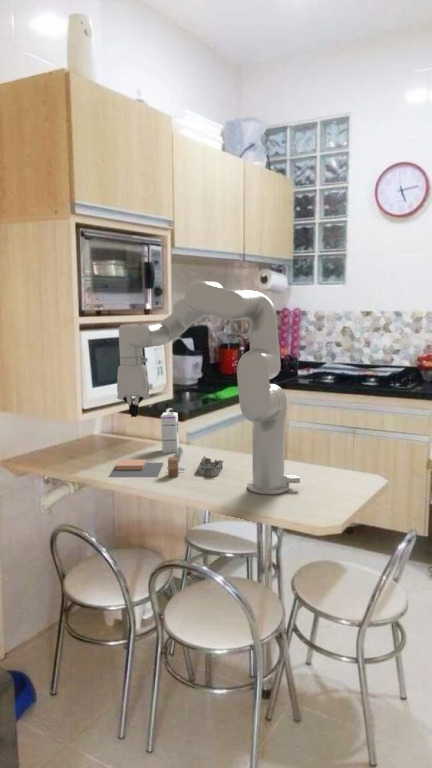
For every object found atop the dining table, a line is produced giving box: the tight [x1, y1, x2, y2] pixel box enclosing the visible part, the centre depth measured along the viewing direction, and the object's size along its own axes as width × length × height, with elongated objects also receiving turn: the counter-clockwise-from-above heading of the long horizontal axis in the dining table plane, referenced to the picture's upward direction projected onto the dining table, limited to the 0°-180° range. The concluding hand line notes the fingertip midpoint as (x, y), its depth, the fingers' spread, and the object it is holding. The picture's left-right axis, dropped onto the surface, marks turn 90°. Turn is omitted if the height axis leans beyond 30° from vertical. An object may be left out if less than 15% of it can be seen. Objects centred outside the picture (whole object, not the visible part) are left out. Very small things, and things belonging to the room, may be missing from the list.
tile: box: [115, 459, 147, 470], centre depth 201 cm, size 2×7×9 cm
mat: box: [107, 462, 164, 478], centre depth 198 cm, size 16×16×1 cm
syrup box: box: [160, 411, 180, 453], centre depth 221 cm, size 6×6×14 cm
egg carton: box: [196, 456, 225, 477], centre depth 196 cm, size 11×8×4 cm
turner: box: [165, 456, 186, 478], centre depth 195 cm, size 12×6×6 cm, turn 178°
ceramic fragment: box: [167, 446, 184, 463], centre depth 213 cm, size 14×5×4 cm, turn 176°
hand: (134, 416), depth 198 cm, fingers closed
